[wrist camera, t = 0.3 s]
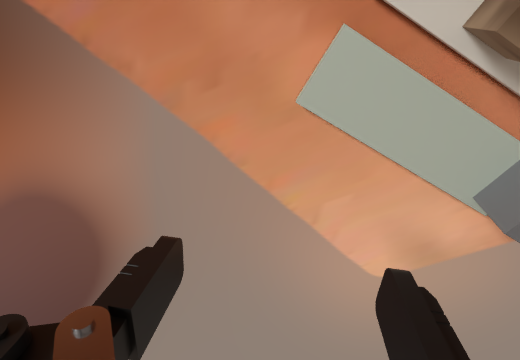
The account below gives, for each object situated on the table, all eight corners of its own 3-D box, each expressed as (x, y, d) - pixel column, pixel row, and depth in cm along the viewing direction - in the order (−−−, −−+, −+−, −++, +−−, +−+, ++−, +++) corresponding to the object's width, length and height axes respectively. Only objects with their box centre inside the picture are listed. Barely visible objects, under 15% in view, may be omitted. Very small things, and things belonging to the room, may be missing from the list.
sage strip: (343, 23, 26) (356, 29, 20) (548, 160, 30) (608, 199, 24) (295, 99, 30) (294, 123, 24) (481, 210, 34) (519, 254, 28)
